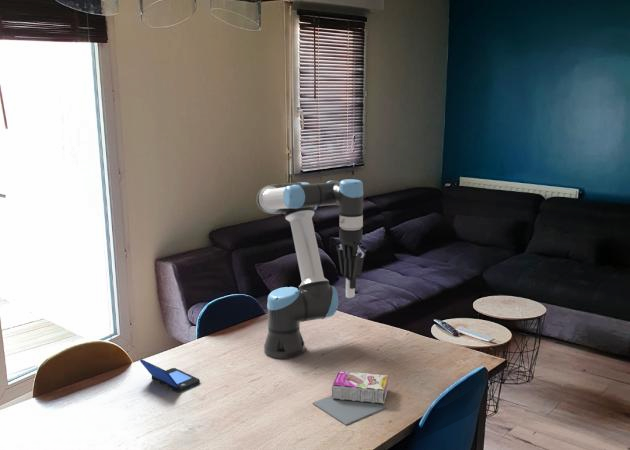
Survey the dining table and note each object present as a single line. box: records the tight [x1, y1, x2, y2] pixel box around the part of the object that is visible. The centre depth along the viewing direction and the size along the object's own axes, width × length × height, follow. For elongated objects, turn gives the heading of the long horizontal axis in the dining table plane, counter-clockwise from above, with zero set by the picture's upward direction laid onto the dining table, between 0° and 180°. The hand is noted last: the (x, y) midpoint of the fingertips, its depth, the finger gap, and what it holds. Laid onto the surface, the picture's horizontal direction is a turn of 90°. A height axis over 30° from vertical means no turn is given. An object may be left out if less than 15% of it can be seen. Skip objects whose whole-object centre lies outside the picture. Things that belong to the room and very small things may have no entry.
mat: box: [312, 395, 387, 426], centre depth 186 cm, size 16×16×1 cm
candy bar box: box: [331, 370, 390, 405], centre depth 192 cm, size 11×5×16 cm
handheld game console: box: [139, 359, 201, 393], centre depth 202 cm, size 16×13×9 cm
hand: (350, 296), depth 202 cm, fingers closed
